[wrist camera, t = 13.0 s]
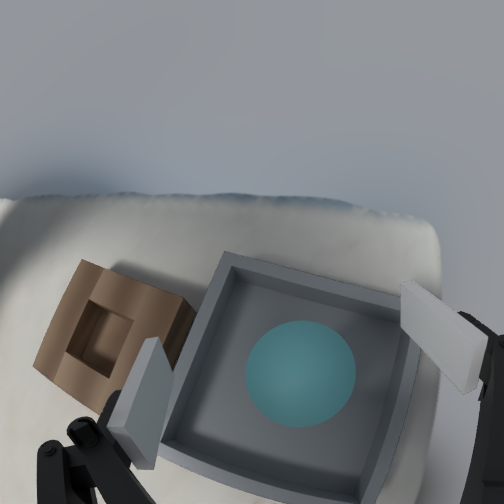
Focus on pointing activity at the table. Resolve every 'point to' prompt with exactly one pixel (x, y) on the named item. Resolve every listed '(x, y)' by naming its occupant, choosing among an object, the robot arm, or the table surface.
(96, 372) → the hole block
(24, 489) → the table surface
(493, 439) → the robot arm
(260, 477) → the tray
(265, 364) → the ball
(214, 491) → the table surface
